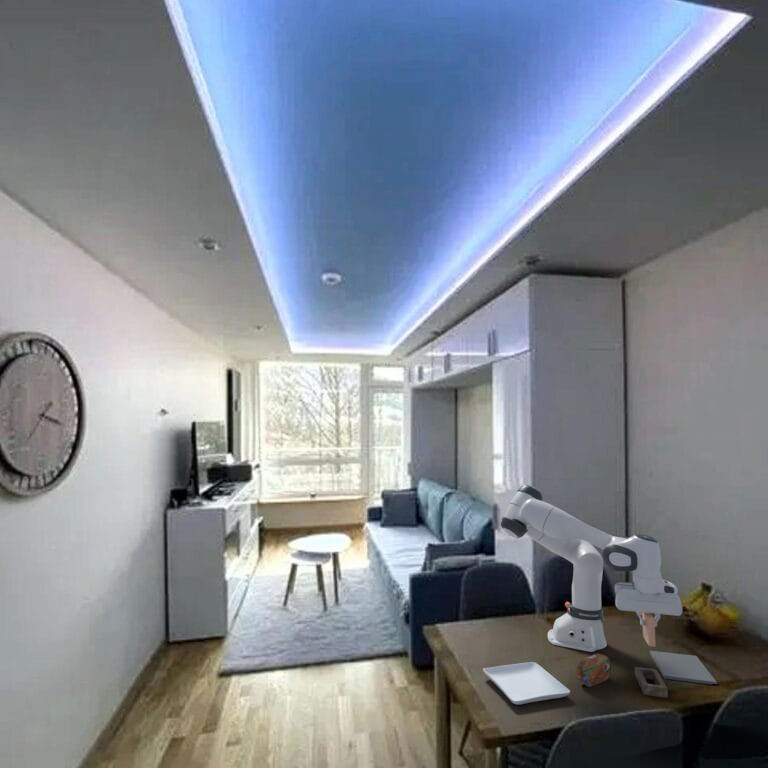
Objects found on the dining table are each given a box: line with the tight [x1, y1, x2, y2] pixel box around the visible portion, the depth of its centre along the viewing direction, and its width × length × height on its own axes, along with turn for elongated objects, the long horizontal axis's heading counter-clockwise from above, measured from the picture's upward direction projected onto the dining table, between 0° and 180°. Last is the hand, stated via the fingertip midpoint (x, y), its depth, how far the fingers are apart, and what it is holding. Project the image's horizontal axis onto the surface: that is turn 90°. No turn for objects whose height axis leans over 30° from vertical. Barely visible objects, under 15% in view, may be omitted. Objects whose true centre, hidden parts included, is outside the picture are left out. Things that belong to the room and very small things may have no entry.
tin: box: [576, 653, 612, 688], centre depth 172 cm, size 15×3×8 cm, turn 119°
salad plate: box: [482, 661, 571, 706], centre depth 167 cm, size 21×21×3 cm
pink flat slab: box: [641, 612, 656, 648], centre depth 170 cm, size 2×8×9 cm, turn 165°
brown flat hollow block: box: [634, 666, 669, 699], centre depth 169 cm, size 7×13×3 cm, turn 165°
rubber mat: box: [649, 650, 718, 686], centre depth 181 cm, size 16×20×1 cm
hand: (648, 625), depth 170 cm, fingers closed on pink flat slab, 2 cm apart
